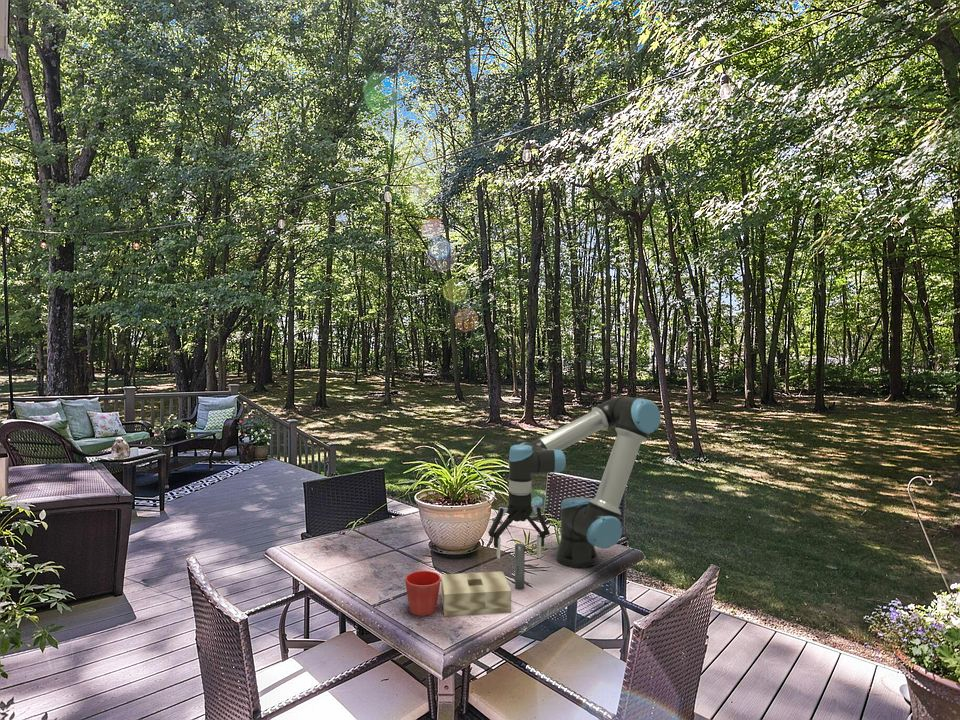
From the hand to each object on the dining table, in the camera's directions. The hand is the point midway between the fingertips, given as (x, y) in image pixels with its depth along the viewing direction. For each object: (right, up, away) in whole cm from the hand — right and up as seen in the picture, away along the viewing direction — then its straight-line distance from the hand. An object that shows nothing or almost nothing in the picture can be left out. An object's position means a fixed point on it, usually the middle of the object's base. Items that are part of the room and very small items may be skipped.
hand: (518, 556), depth 173 cm
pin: (0, -10, 0) cm, 10 cm away
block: (-14, -10, -11) cm, 21 cm away
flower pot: (-30, -11, -15) cm, 35 cm away
